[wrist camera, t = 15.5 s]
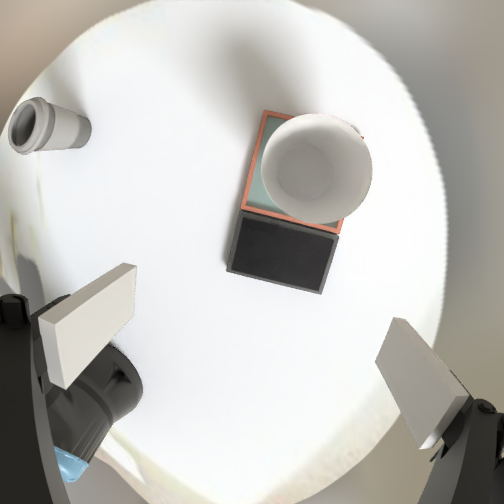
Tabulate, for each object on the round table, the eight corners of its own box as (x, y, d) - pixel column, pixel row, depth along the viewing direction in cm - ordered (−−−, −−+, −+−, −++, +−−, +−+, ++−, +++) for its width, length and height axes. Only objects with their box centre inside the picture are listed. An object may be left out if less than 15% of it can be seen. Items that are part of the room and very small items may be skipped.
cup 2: (291, 119, 32) (299, 90, 20) (355, 162, 32) (393, 155, 20) (250, 183, 34) (236, 185, 22) (315, 225, 34) (334, 248, 23)
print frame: (241, 207, 35) (240, 208, 34) (264, 111, 32) (264, 109, 31) (337, 232, 35) (339, 234, 34) (361, 138, 32) (363, 137, 31)
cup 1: (85, 100, 33) (30, 84, 21) (105, 130, 34) (48, 118, 22) (56, 135, 34) (0, 130, 23) (75, 165, 35) (16, 167, 24)
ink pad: (227, 268, 37) (225, 272, 35) (240, 210, 35) (238, 211, 33) (319, 291, 37) (321, 296, 35) (337, 234, 35) (340, 237, 33)
